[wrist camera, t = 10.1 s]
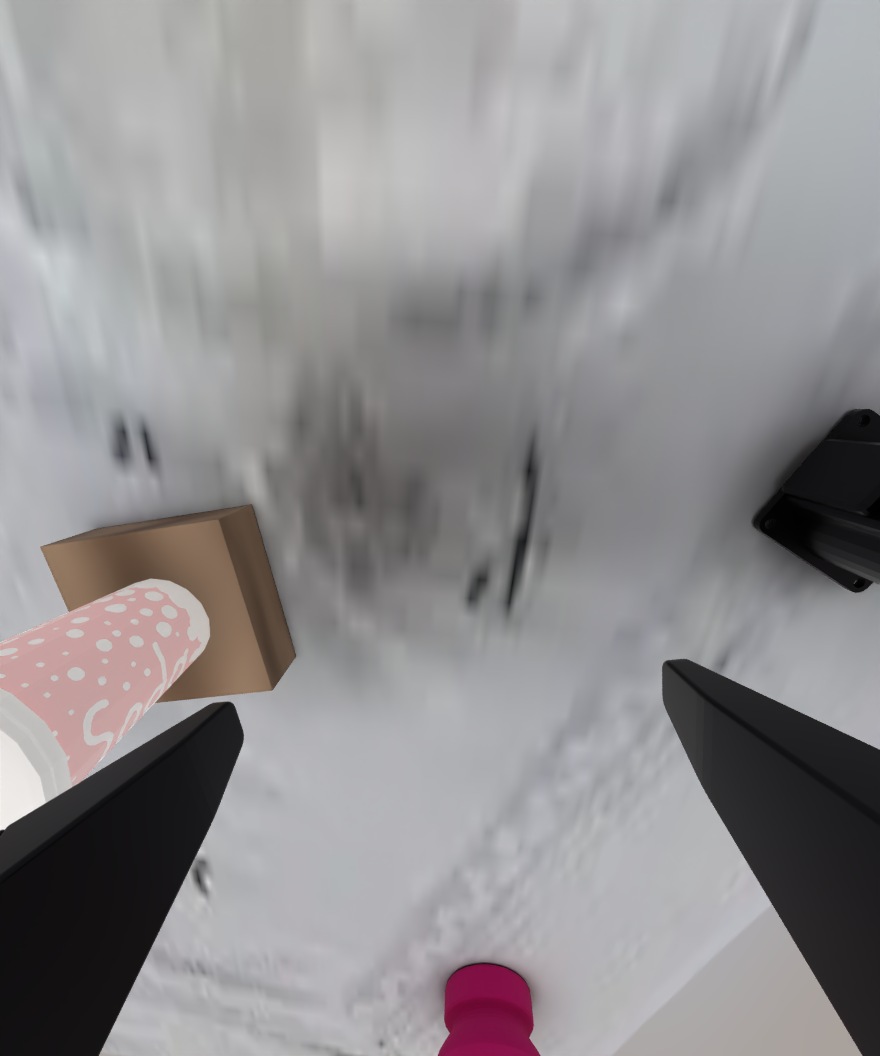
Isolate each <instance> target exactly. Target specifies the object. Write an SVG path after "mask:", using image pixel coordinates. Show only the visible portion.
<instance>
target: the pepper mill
mask: <svg viewBox="0 0 880 1056" xmlns="http://www.w3.org/2000/svg"><path fill="white" fill-rule="evenodd" d="M444 1021H445V1025H446V1028H447V1029H448V1031H449V1032H450V1034H449V1036H448V1037H447V1039H446V1040H445V1042H444V1044H443V1046H442V1047H441V1049H440V1051H439V1054H438V1056H540V1054H539V1052H538V1051H537V1049H536V1048H535V1046H534V1045H533V1043H532V1042H531V1040H530V1039H529V1036H530V1034H531V1033H532V1031H533V1026H534V1024H533V1013H532V1005H531V996H530V991H529V988H528V986H527V984H526V982H525V981H524V980H523V979H522V978H521V977H520V976H519V975H518V974H516V973H514V972H513V971H511V970H509V969H507V968H504V967H501V966H497V965H491V964H477V965H472V966H467V967H464V968H462V969H460V970H458V971H457V972H456V973H454V974H453V975H452V976H451V978H450V979H449V980H448V983H447V985H446V990H445V1015H444Z"/></svg>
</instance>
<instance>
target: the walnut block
mask: <svg viewBox="0 0 880 1056" xmlns="http://www.w3.org/2000/svg"><path fill="white" fill-rule="evenodd" d="M40 548H41V550H42V552H43V554H44V557H45V559H46V561H47V563H48V566H49V568H50V570H51V572H52V575H53V577H54V579H55V582H56V584H57V586H58V588H59V591H60V593H61V595H62V597H63V600H64V602H65V604H66V606H67V609H68V611H69V612H70V611H72V610H75V609H77V608H79V607H82V606H84V605H86V604H88V603H91V602H93V601H95V600H98V599H100V598H102V597H104V596H107V595H109V594H111V593H114V592H116V591H118V590H120V589H123V588H125V587H127V586H130V585H132V584H134V583H137V582H141V581H144V580H148V579H159V580H167V581H171V582H173V583H175V584H177V585H179V586H181V587H183V588H185V589H187V590H188V591H189V592H190V593H191V594H192V595H193V596H194V597H195V598H196V599H197V600H198V601H199V602H200V603H201V604H202V606H203V608H204V610H205V612H206V614H207V616H208V618H209V626H210V638H209V640H208V642H207V645H206V647H205V649H204V651H203V652H202V653H201V654H200V655H199V656H198V657H197V658H196V659H195V660H194V662H193V663H192V664H191V665H190V666H189V667H188V668H187V669H186V670H185V671H184V672H183V673H182V674H181V675H180V676H179V678H178V679H177V680H176V681H175V682H174V683H173V684H172V685H171V686H170V687H169V688H168V689H167V690H166V691H165V692H164V694H163V695H162V696H161V697H160V698H159V699H158V700H157V701H156V702H155V703H158V702H168V701H177V700H187V699H196V698H206V697H215V696H224V695H234V694H243V693H253V692H262V691H271V690H273V689H274V688H275V686H276V685H277V683H278V682H279V680H280V679H281V677H282V676H283V674H284V673H285V672H286V670H287V669H288V667H289V666H290V664H291V663H292V661H293V660H294V659H295V657H296V655H295V651H294V648H293V644H292V641H291V638H290V634H289V631H288V627H287V624H286V620H285V617H284V614H283V610H282V607H281V603H280V600H279V596H278V593H277V590H276V586H275V583H274V579H273V576H272V573H271V569H270V566H269V562H268V559H267V555H266V552H265V549H264V545H263V542H262V538H261V535H260V531H259V528H258V525H257V521H256V518H255V514H254V511H253V507H252V505H247V506H240V507H234V508H227V509H221V510H215V511H208V512H202V513H195V514H189V515H182V516H176V517H170V518H163V519H157V520H150V521H144V522H138V523H131V524H125V525H118V526H112V527H106V528H99V529H94V530H91V531H88V532H85V533H82V534H78V535H75V536H72V537H69V538H66V539H63V540H60V541H57V542H54V543H51V544H48V545H44V546H41V547H40Z"/></svg>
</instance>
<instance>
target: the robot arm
mask: <svg viewBox="0 0 880 1056" xmlns="http://www.w3.org/2000/svg"><path fill="white" fill-rule="evenodd" d="M860 417H861V418H862V421H861V423H860V424H859V425H858V424H857V421H858V419H859V418H860ZM769 519H770V521H771V522H770V524H769V525H768V526H766V527H765V523H766V521H767V520H769ZM754 526H755V528H756V529H757V530H758V531H759V532H761V533H762V534H764V535H765V536H767V537H768V538H770V539H771V540H773V541H774V542H776V543H777V544H779V545H780V546H782V547H783V548H785V549H786V550H788V551H789V552H791V553H792V554H794V555H795V556H797V557H798V558H800V559H801V560H803V561H804V562H806V563H807V564H809V565H810V566H812V567H813V568H815V569H816V570H818V571H819V572H821V573H822V574H824V575H826V576H827V577H829V578H830V579H832V580H833V581H835V582H836V583H838V584H839V585H841V586H842V587H844V588H846V589H848V590H850V591H852V592H855V593H857V592H862V591H864V590H865V589H867V588H868V587H869V586H870V585H871V584H872V583H873V582H875V583H878V584H880V416H879V415H878V414H877V413H875V412H874V411H872V410H870V409H855V410H853V411H851V412H849V413H848V414H847V415H846V416H845V417H844V418H843V420H842V421H841V422H840V423H839V424H838V425H837V426H836V428H835V429H834V430H833V431H832V432H831V433H830V434H829V435H828V437H827V438H826V439H825V440H824V441H822V442H821V443H820V444H819V445H818V446H817V448H816V449H815V450H814V451H813V452H812V453H811V454H810V456H809V457H808V458H807V459H806V460H805V461H804V462H803V463H802V465H801V466H800V467H799V468H798V469H797V470H796V471H795V472H794V474H793V475H792V476H791V477H790V478H789V479H788V480H787V481H786V483H785V484H784V485H783V487H782V488H781V489H780V491H779V492H778V493H777V494H776V495H775V496H774V497H773V498H772V500H771V501H770V502H769V503H768V504H767V505H766V506H765V508H764V509H763V510H762V511H761V512H760V513H759V514H758V515H757V517H756V518H755V520H754ZM855 580H857V582H856V583H854V581H855ZM662 695H663V702H664V706H665V709H666V711H667V713H668V715H669V717H670V719H671V722H672V724H673V726H674V728H675V730H676V732H677V734H678V736H679V739H680V741H681V743H682V745H683V747H684V749H685V751H686V754H687V756H688V758H689V760H690V762H691V764H692V766H693V768H694V771H695V773H696V775H697V777H698V779H699V781H700V783H701V785H702V787H703V789H704V790H705V792H706V794H707V796H708V797H709V799H710V801H711V803H712V804H713V806H714V808H715V809H716V811H717V813H718V814H719V816H720V818H721V819H722V821H723V823H724V824H725V826H726V828H727V829H728V831H729V833H730V834H731V836H732V838H733V839H734V841H735V843H736V844H737V846H738V848H739V849H740V851H741V853H742V855H743V856H744V858H745V860H746V861H747V863H748V865H749V866H750V868H751V870H752V871H753V873H754V875H755V876H756V878H757V880H758V881H759V883H760V885H761V886H762V888H763V890H764V891H765V893H766V895H767V896H768V898H769V900H770V901H771V903H772V905H773V906H774V908H775V910H776V911H777V913H778V915H779V917H780V918H781V920H782V922H783V923H784V925H785V927H786V928H787V930H788V931H789V933H790V935H791V936H792V938H793V940H794V942H795V943H796V945H797V947H798V948H799V950H800V952H801V953H802V955H803V957H804V958H805V960H806V962H807V963H808V965H809V967H810V968H811V970H812V972H813V974H814V975H815V977H816V979H817V980H818V982H819V984H820V985H821V987H822V989H823V990H824V992H825V994H826V995H827V997H828V999H829V1000H830V1002H831V1004H832V1005H833V1007H834V1009H835V1010H836V1012H837V1014H838V1015H839V1017H840V1019H841V1020H842V1022H843V1024H844V1026H845V1027H846V1029H847V1031H848V1032H849V1034H850V1036H851V1037H852V1039H853V1041H854V1042H855V1044H856V1046H857V1047H858V1049H859V1051H860V1052H861V1054H862V1056H880V750H879V749H877V748H875V747H873V746H871V745H868V744H866V743H864V742H862V741H860V740H858V739H856V738H854V737H851V736H849V735H847V734H845V733H843V732H841V731H839V730H837V729H834V728H832V727H830V726H828V725H826V724H824V723H822V722H820V721H817V720H815V719H813V718H811V717H809V716H807V715H805V714H803V713H800V712H798V711H796V710H794V709H792V708H790V707H788V706H786V705H783V704H781V703H779V702H777V701H775V700H773V699H771V698H769V697H766V696H764V695H762V694H760V693H758V692H756V691H754V690H752V689H749V688H747V687H745V686H743V685H741V684H739V683H737V682H735V681H732V680H730V679H728V678H726V677H724V676H722V675H720V674H718V673H715V672H713V671H711V670H709V669H707V668H705V667H703V666H701V665H698V664H696V663H694V662H692V661H690V660H687V659H676V660H667V661H665V662H664V663H663V666H662ZM243 740H244V733H243V729H242V726H241V723H240V720H239V717H238V714H237V711H236V708H235V706H234V704H233V703H231V702H218V703H212V704H210V705H208V706H206V707H205V708H203V709H201V710H200V711H198V712H196V713H195V714H193V715H191V716H190V717H188V718H186V719H185V720H183V721H181V722H180V723H178V724H176V725H175V726H173V727H171V728H170V729H168V730H166V731H165V732H163V733H161V734H160V735H158V736H156V737H155V738H153V739H151V740H150V741H148V742H146V743H145V744H143V745H141V746H140V747H138V748H136V749H135V750H133V751H131V752H130V753H128V754H126V755H125V756H123V757H121V758H120V759H118V760H116V761H115V762H113V763H111V764H110V765H108V766H106V767H105V768H103V769H101V770H100V771H98V772H96V773H95V774H93V775H91V776H90V777H88V778H86V779H85V780H83V781H81V782H80V783H78V784H76V785H75V786H73V787H71V788H70V789H68V790H66V791H65V792H63V793H62V794H60V795H58V796H57V797H55V798H53V799H52V800H50V801H48V802H47V803H45V804H43V805H42V806H40V807H38V808H37V809H35V810H33V811H32V812H30V813H28V814H27V815H25V816H23V817H22V818H20V819H18V820H17V821H15V822H13V823H12V824H10V825H8V826H7V827H6V829H5V830H0V1056H99V1054H100V1052H101V1050H102V1048H103V1046H104V1044H105V1042H106V1040H107V1038H108V1036H109V1034H110V1032H111V1029H112V1027H113V1025H114V1023H115V1021H116V1019H117V1017H118V1015H119V1013H120V1011H121V1009H122V1007H123V1005H124V1003H125V1001H126V999H127V997H128V995H129V992H130V990H131V988H132V986H133V984H134V982H135V980H136V978H137V976H138V974H139V972H140V970H141V968H142V966H143V964H144V962H145V960H146V958H147V955H148V953H149V951H150V949H151V947H152V945H153V943H154V941H155V939H156V937H157V935H158V933H159V931H160V929H161V927H162V925H163V923H164V921H165V918H166V916H167V914H168V912H169V910H170V908H171V906H172V904H173V902H174V900H175V898H176V896H177V894H178V892H179V890H180V888H181V886H182V884H183V881H184V879H185V877H186V875H187V873H188V871H189V869H190V867H191V865H192V863H193V861H194V859H195V857H196V855H197V853H198V851H199V849H200V847H201V844H202V842H203V840H204V838H205V836H206V834H207V832H208V830H209V828H210V826H211V823H212V821H213V819H214V817H215V814H216V812H217V809H218V807H219V805H220V802H221V799H222V797H223V794H224V792H225V789H226V786H227V784H228V781H229V779H230V776H231V774H232V771H233V768H234V766H235V763H236V761H237V758H238V755H239V753H240V750H241V748H242V745H243Z"/></svg>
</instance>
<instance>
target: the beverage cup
mask: <svg viewBox="0 0 880 1056" xmlns="http://www.w3.org/2000/svg"><path fill="white" fill-rule="evenodd" d="M209 638H210V626H209V618H208V616H207V614H206V612H205V610H204V608H203V606H202V604H201V603H200V602H199V601H198V600H197V599H196V598H195V597H194V596H193V595H192V594H191V593H190V592H189V591H188V590H187V589H185V588H183V587H181V586H179V585H177V584H175V583H173V582H171V581H167V580H159V579H148V580H144V581H141V582H137V583H134V584H132V585H130V586H127V587H125V588H123V589H120V590H118V591H116V592H114V593H111V594H109V595H107V596H104V597H102V598H100V599H98V600H95V601H93V602H91V603H88V604H86V605H84V606H82V607H79V608H77V609H75V610H72V611H70V612H68V613H66V614H63V615H61V616H59V617H56V618H54V619H52V620H50V621H47V622H45V623H43V624H40V625H38V626H36V627H34V628H31V629H29V630H27V631H25V632H22V633H20V634H18V635H15V636H13V637H11V638H9V639H6V640H4V641H2V642H0V830H5V829H6V827H7V826H8V825H10V824H12V823H13V822H15V821H17V820H18V819H20V818H22V817H23V816H25V815H27V814H28V813H30V812H32V811H33V810H35V809H37V808H38V807H40V806H42V805H43V804H45V803H47V802H48V801H50V800H52V799H53V798H55V797H57V796H58V795H60V794H62V793H63V792H65V791H66V790H68V789H70V788H71V787H73V786H75V785H76V784H78V783H80V782H81V781H82V780H83V779H84V778H85V777H86V776H87V775H88V773H89V772H90V771H91V770H92V769H93V768H94V767H95V766H96V765H97V764H98V763H99V762H100V761H101V760H102V759H103V757H104V756H105V755H106V754H107V753H108V752H109V751H110V750H111V749H112V748H113V747H114V746H115V745H116V744H117V743H118V741H119V740H120V739H121V738H122V737H123V736H124V735H125V734H126V733H127V732H128V731H129V730H130V729H131V728H132V727H133V725H134V724H135V723H136V722H137V721H138V720H139V719H140V718H141V717H142V716H143V715H144V714H145V713H146V712H147V711H148V710H149V708H150V707H151V706H152V705H153V704H154V703H155V702H156V701H157V700H158V699H159V698H160V697H161V696H162V695H163V694H164V692H165V691H166V690H167V689H168V688H169V687H170V686H171V685H172V684H173V683H174V682H175V681H176V680H177V679H178V678H179V676H180V675H181V674H182V673H183V672H184V671H185V670H186V669H187V668H188V667H189V666H190V665H191V664H192V663H193V662H194V660H195V659H196V658H197V657H198V656H199V655H200V654H201V653H202V652H203V651H204V649H205V647H206V645H207V642H208V640H209Z"/></svg>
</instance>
